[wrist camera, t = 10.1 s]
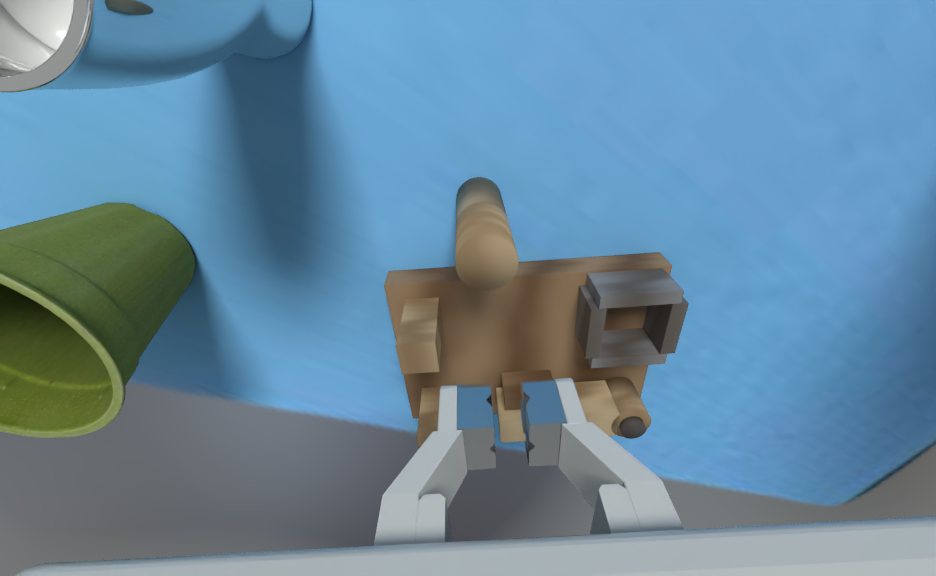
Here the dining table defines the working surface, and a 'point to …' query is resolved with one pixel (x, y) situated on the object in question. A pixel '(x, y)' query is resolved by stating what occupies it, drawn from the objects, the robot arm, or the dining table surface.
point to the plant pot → (82, 313)
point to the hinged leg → (591, 410)
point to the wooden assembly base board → (532, 327)
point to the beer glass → (137, 39)
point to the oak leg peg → (483, 237)
